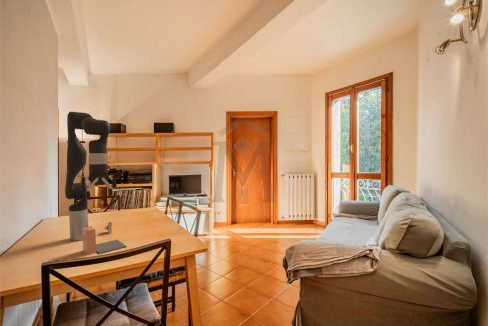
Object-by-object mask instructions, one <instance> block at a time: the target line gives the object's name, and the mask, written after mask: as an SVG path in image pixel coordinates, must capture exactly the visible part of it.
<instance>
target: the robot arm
mask: <svg viewBox="0 0 488 326" xmlns="http://www.w3.org/2000/svg"><path fill="white" fill-rule="evenodd" d="M66 121H67V122H66V124H67V125H66V129H67V149H66V177H65V188H64V194H65V198H66V199H67V200H75V199H76V200H77V199H79V200H78V201H77V202H75V203H73V204H70V205H69V206H68V215H69V216H68V219H69V220H68V221H69V241H71V242H77V241H78V242H79V241H83V232H82V228H84V227H89V212H88V211H89V209H88V205H89V204H88V203H89V201H88V200H91V189H92V188H93V187H94V186H104V185H105V186H106V188H107V197H108V198H111V197H112V196H113V189H114V188H117V177H116V176H117V175H116V174H110V175H109V162H108V155H107V153H108V152H107V151H108V150H107V143H108V138H109V135H110V131H111V125H110V122H108V121H107V120H104V119H96V118H94V117H93V116H92V115H91V114H90V113H87V112H81V111H79V112H78V111H69V112H68V114H67V117H66ZM76 130H83V132H84V133H85V134H86V135H89V136H90V135H91V136H92V135H93V136H100V137H99V138H98V139H94V140H90V141H89V142H88V153H87V149H85V147H84V145H83V144H82V142H81V141H80V139H79V138H78V137H77V134H76ZM87 154H88V176H81V177H80V182H75V179H76V177H77V176H78V174H79V173H80V172H81V171H82V170H83V168H84V167H85V166H86V164H87ZM109 179H110V180H111V184H110V182H108V181H109ZM87 181H89V184H87V183H86V182H87Z"/></svg>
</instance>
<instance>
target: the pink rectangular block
mask: <svg viewBox="0 0 488 326" xmlns="http://www.w3.org/2000/svg"><path fill="white" fill-rule="evenodd" d="M82 232H83V240H82V250H83V252H84V253H85V255H86V256H87V255H92V254H96V253H97V251H96V244H97V240H96V236H97V235H96V228H95V227H93V226H92V225H91V226H89V225H88V227H84V228H82Z"/></svg>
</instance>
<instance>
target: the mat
mask: <svg viewBox="0 0 488 326" xmlns="http://www.w3.org/2000/svg"><path fill="white" fill-rule="evenodd" d="M123 248H127V245H126V244H125V243H123V242H122V241H120V240H118V239H114V240H110V241H105V242H100V243H98V244H97V243H96V253H97V254H98V255H101V254H106V253H108V252H112V251H116V250H120V249H123Z"/></svg>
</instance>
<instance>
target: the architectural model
mask: <svg viewBox="0 0 488 326" xmlns="http://www.w3.org/2000/svg"><path fill="white" fill-rule="evenodd" d="M112 224H113V223H112V221H111V220H109V221H107V224H106V226H103V228H104V230H105V231H107V234H108V235H112V233H113V230H112V228H113V227H112Z"/></svg>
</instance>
